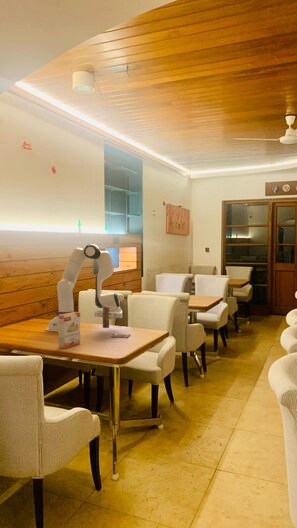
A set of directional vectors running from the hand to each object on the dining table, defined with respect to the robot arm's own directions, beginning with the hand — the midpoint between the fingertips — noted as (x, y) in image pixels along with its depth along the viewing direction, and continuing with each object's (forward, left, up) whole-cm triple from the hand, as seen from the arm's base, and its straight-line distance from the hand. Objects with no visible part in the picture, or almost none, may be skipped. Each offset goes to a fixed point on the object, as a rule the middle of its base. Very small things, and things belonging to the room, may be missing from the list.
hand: (105, 316), depth 274 cm
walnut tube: (0, +1, -8) cm, 8 cm away
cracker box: (-15, -29, -14) cm, 36 cm away
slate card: (+11, +1, -14) cm, 18 cm away
